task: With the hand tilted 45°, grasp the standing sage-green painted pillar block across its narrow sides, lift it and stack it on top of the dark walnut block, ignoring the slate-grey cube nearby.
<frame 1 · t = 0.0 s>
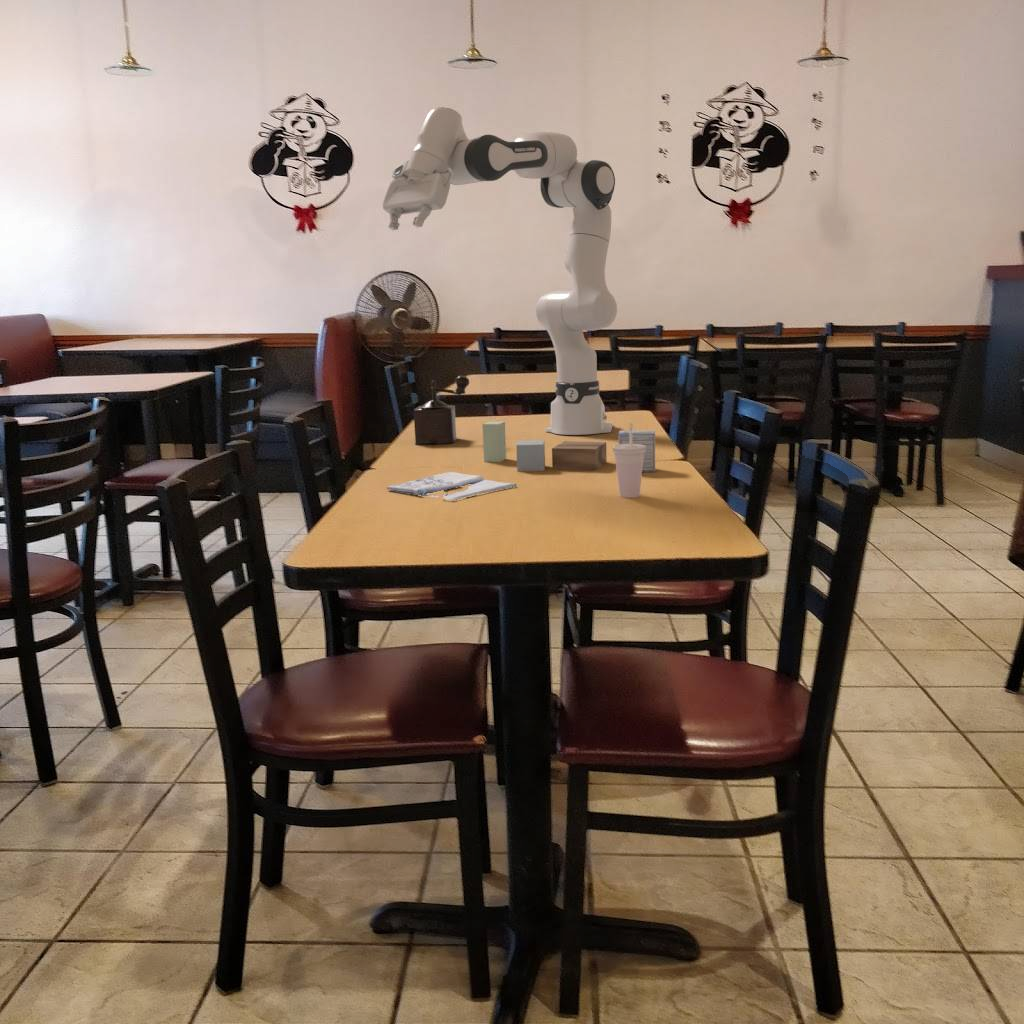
hand: (404, 227, 219), 54 cm above the table, tool tilted 30°, fingers open, 8 cm apart
walnut block: (579, 466, 217), on the table
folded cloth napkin: (452, 492, 196), on the table
sage pillar: (495, 460, 228), on the table
smoothie: (629, 496, 184), on the table
slate block: (531, 468, 216), on the table
medicine box: (636, 471, 209), on the table
coffee grinder: (445, 442, 260), on the table
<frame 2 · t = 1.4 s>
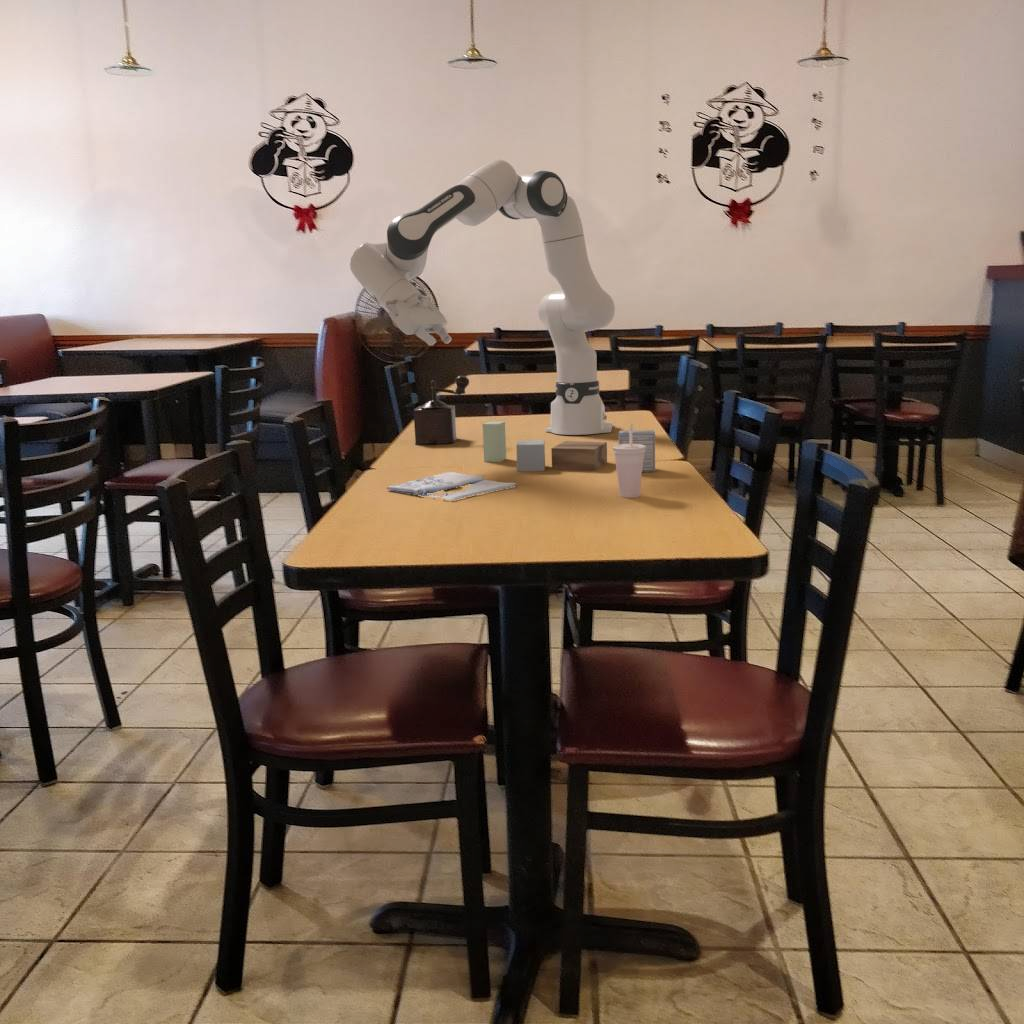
hand: (441, 342, 226), 28 cm above the table, tool tilted 45°, fingers open, 8 cm apart
nothing on the table moved.
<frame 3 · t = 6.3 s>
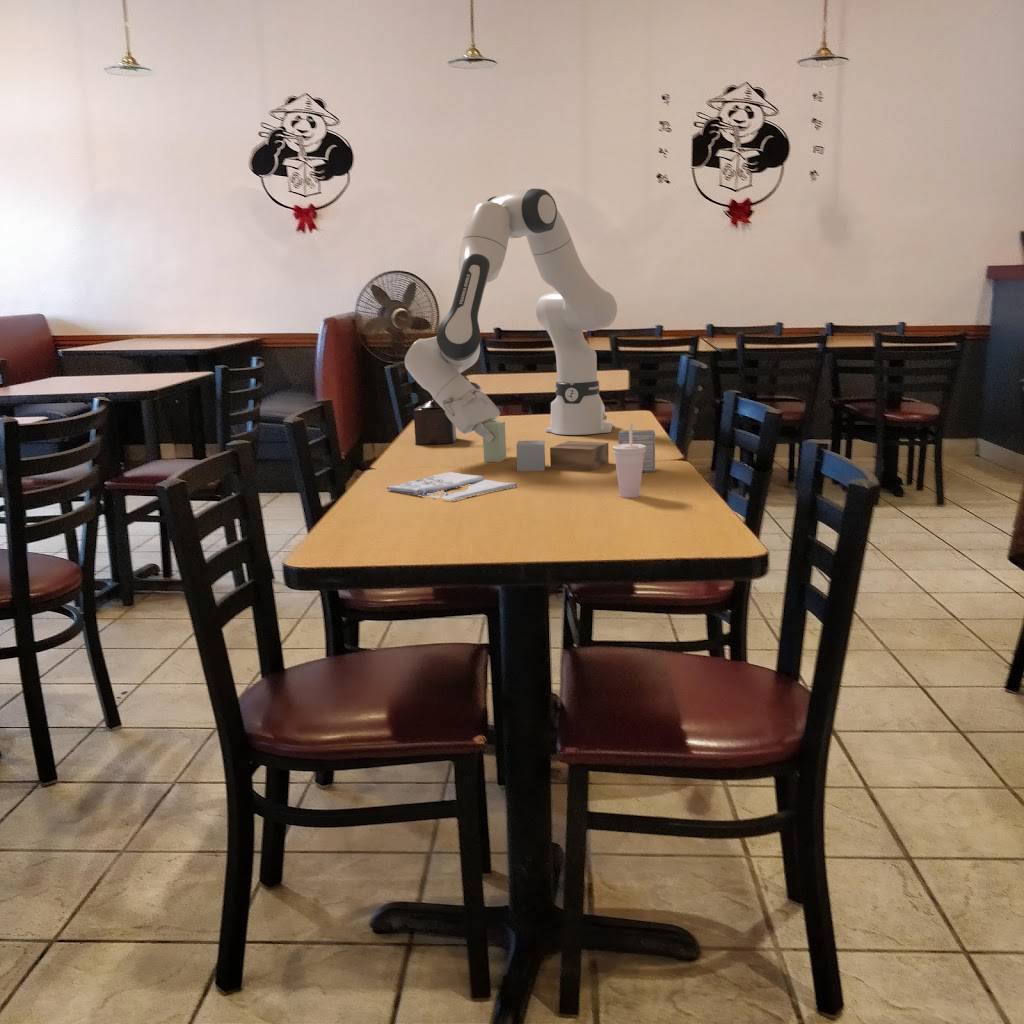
hand: (496, 437, 227), 5 cm above the table, tool tilted 45°, fingers closed on sage pillar, 4 cm apart
sage pillar: (495, 460, 228), on the table, touching gripper
everything else where it was.
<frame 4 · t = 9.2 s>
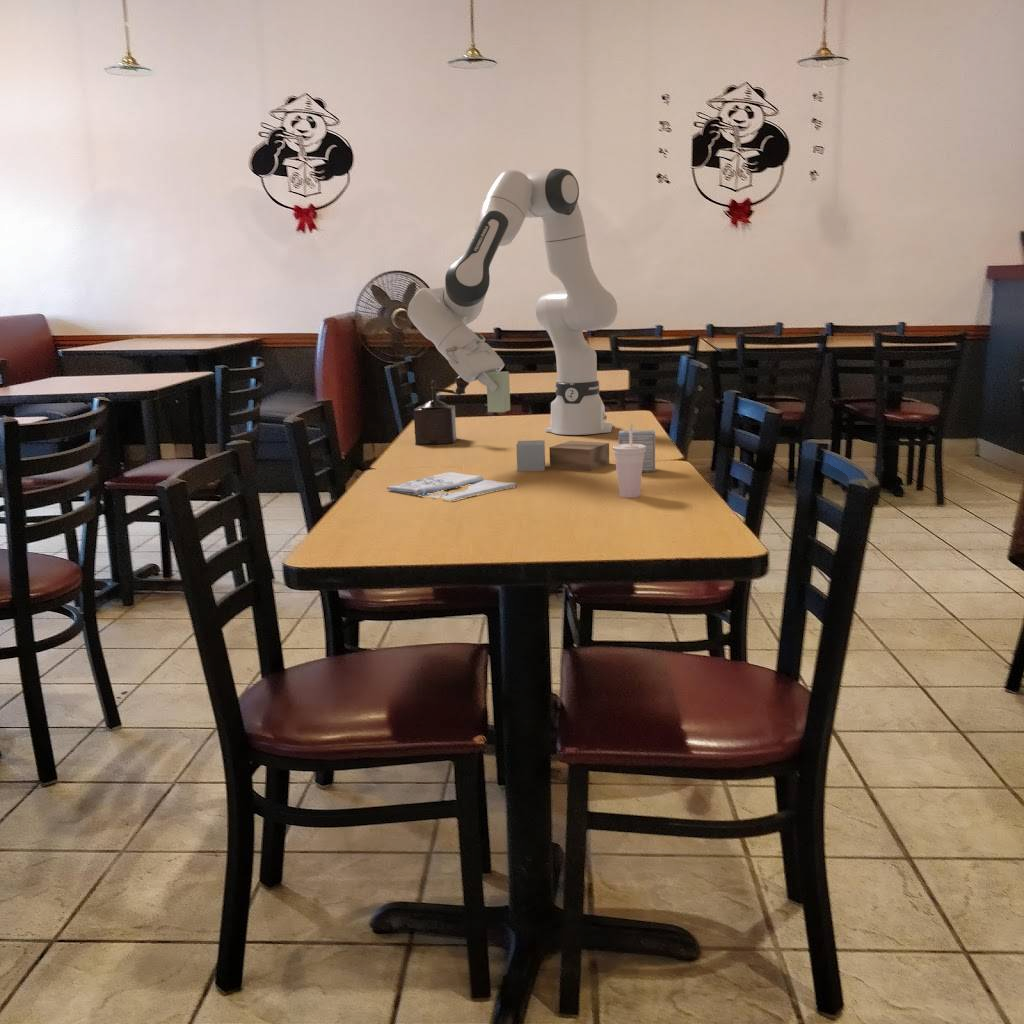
hand: (500, 388, 223), 17 cm above the table, tool tilted 45°, fingers closed on sage pillar, 4 cm apart
sage pillar: (499, 411, 225), point 12 cm above the table, touching gripper
everything else where it was.
when the fingers open (11 cm above the table, at t = 12.2 s): sage pillar drops 1 cm, point 5 cm above the table.
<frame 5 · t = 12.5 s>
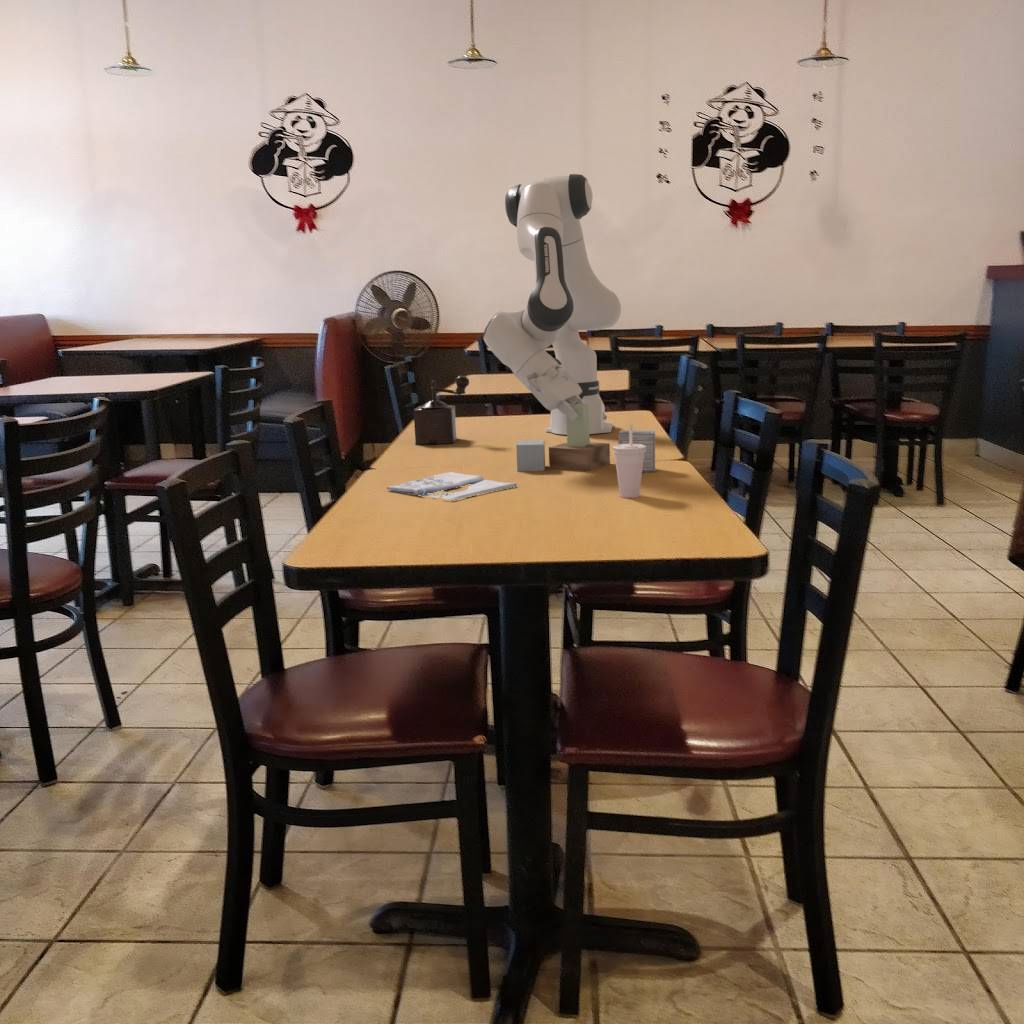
hand: (581, 415, 214), 11 cm above the table, tool tilted 45°, fingers open, 7 cm apart
sage pillar: (578, 445, 216), point 5 cm above the table
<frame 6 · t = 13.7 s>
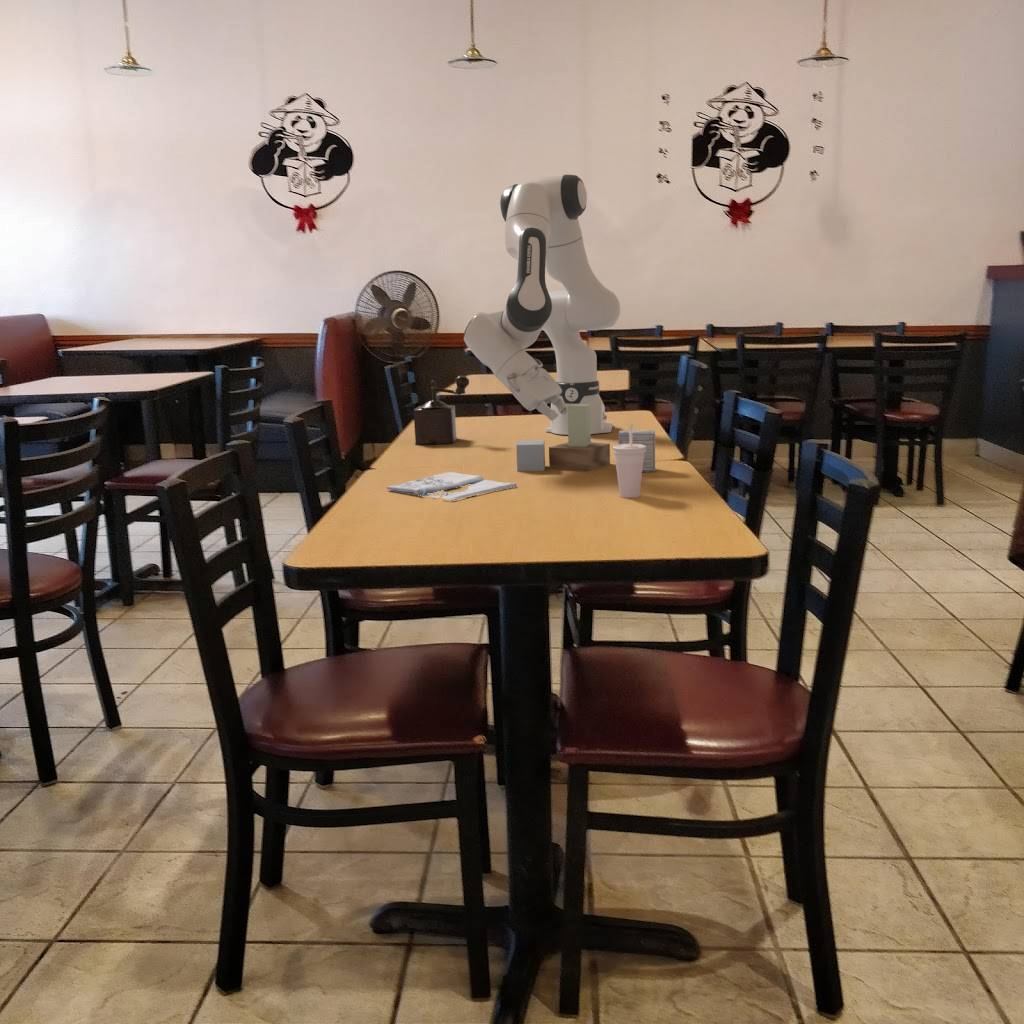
hand: (561, 415, 216), 11 cm above the table, tool tilted 45°, fingers open, 8 cm apart
nothing on the table moved.
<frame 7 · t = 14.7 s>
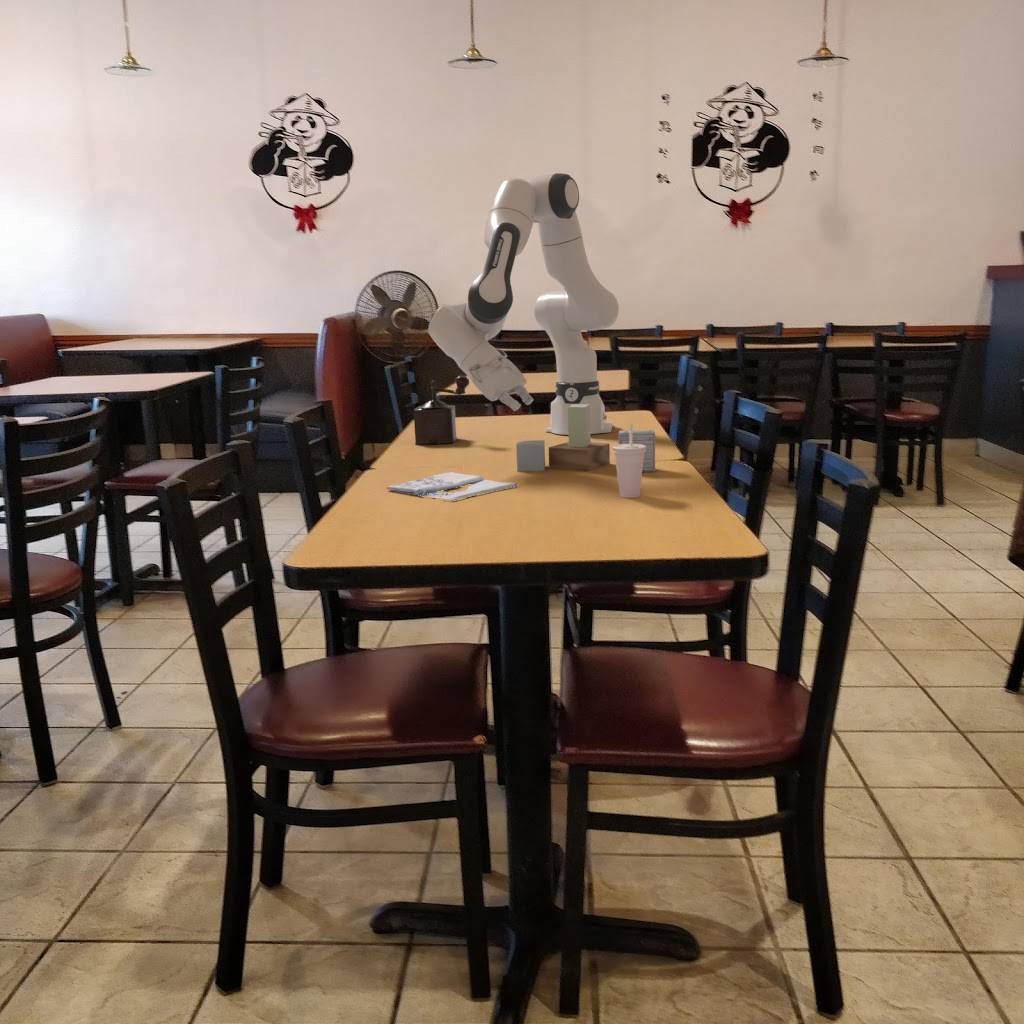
hand: (524, 405, 220), 13 cm above the table, tool tilted 45°, fingers open, 8 cm apart
walnut block: (579, 467, 217), on the table, touching sage pillar
sage pillar: (579, 445, 216), point 5 cm above the table, touching walnut block
everything else where it was.
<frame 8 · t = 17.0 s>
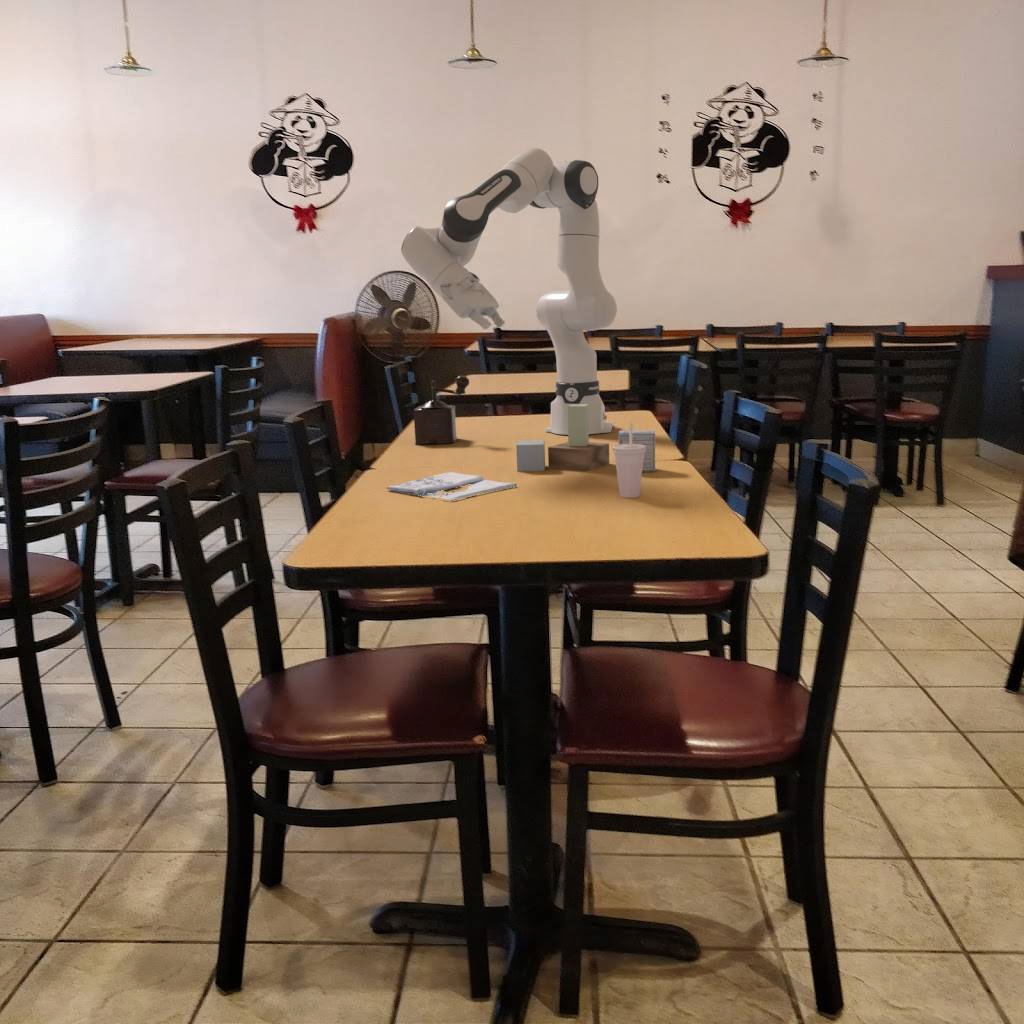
hand: (495, 326, 223), 31 cm above the table, tool tilted 45°, fingers open, 8 cm apart
nothing on the table moved.
at the end: sage pillar inside the target area on the walnut block (0.0 cm from its centre), point 5.1 cm above the walnut block's base; sage pillar tilted 2°; the gripper is holding nothing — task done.
